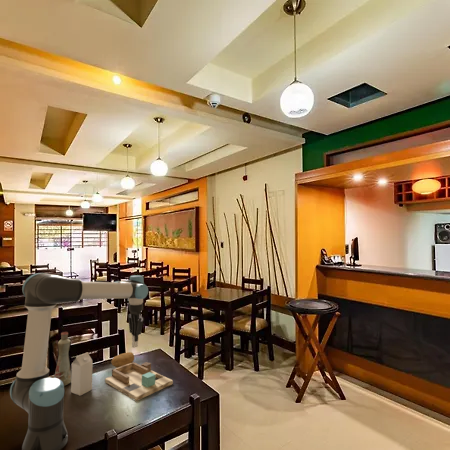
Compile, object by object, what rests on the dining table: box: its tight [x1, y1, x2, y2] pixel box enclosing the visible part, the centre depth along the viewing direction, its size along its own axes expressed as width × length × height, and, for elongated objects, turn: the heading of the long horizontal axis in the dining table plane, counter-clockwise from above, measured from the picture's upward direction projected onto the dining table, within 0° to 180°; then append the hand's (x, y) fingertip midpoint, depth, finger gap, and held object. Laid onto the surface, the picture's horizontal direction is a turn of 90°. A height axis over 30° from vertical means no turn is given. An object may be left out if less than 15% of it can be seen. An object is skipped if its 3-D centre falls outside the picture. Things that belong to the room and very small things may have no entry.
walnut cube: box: [140, 362, 152, 371], centre depth 178 cm, size 4×4×4 cm
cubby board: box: [104, 361, 174, 402], centre depth 167 cm, size 23×30×6 cm
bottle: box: [53, 331, 72, 387], centre depth 166 cm, size 9×9×28 cm
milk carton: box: [70, 352, 93, 396], centre depth 158 cm, size 7×7×19 cm
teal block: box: [142, 372, 156, 388], centre depth 161 cm, size 5×5×5 cm
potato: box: [110, 351, 135, 369], centre depth 187 cm, size 10×14×8 cm
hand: (134, 346), depth 167 cm, fingers closed
